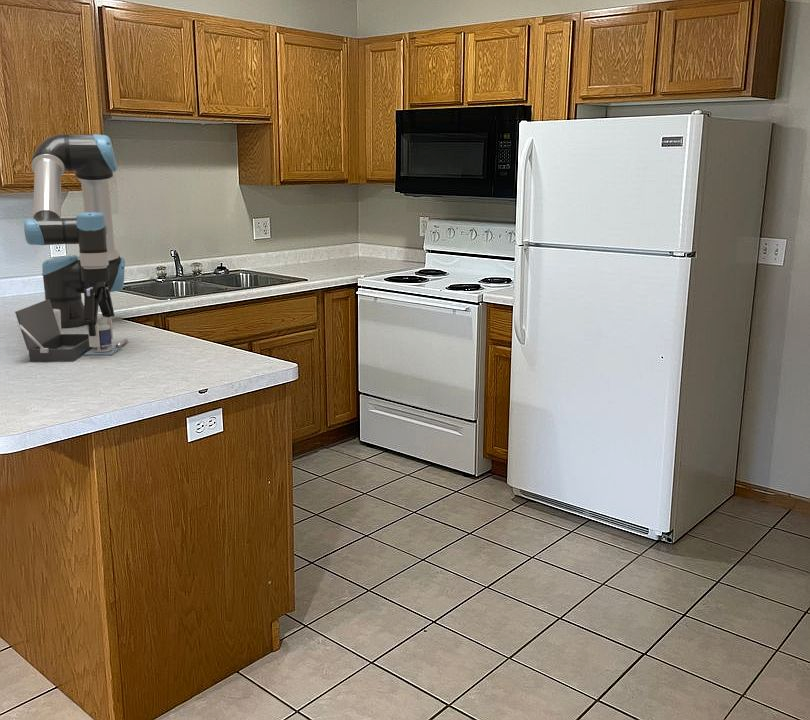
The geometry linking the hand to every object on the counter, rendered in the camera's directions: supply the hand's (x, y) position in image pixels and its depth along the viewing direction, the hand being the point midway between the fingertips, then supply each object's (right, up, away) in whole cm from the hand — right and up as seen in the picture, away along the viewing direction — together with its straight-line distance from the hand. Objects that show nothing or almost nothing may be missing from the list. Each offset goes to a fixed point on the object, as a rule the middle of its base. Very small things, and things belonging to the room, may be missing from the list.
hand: (101, 342), depth 239 cm
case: (-12, -3, 0) cm, 12 cm away
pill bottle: (0, -3, +1) cm, 3 cm away
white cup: (-22, 0, +15) cm, 26 cm away
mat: (0, -3, +1) cm, 3 cm away
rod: (+2, -1, +10) cm, 11 cm away
